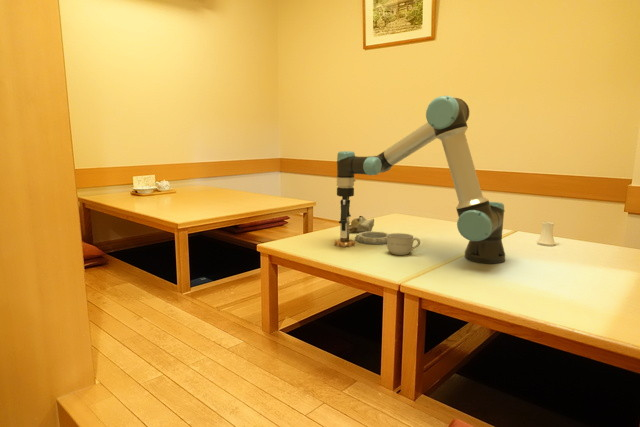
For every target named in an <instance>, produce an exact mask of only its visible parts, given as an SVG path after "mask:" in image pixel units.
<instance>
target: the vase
mask: <svg viewBox="0 0 640 427" xmlns="http://www.w3.org/2000/svg"><path fill="white" fill-rule="evenodd" d="M554 226H555V223H554V222H553V221H541V233H540V236H539V238H538V239H537V241H536V244H537V245H539V246H543V247H555V246H556V241H555V239H554Z"/></svg>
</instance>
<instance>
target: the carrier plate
mask: <svg viewBox="0 0 640 427" xmlns="http://www.w3.org/2000/svg"><path fill="white" fill-rule="evenodd" d="M387 234H389V233H388V232H384V231H377V230H375V231H373V230H372V231H370V232H366V231H363V232H358V234H356V235H355V237H354V241H355V242H356V243H360V244H363V245H371V246H373V245H375V246H376V245H378V246H380V245H387Z"/></svg>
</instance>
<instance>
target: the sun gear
mask: <svg viewBox="0 0 640 427" xmlns="http://www.w3.org/2000/svg"><path fill="white" fill-rule="evenodd" d="M350 222H351V221H350V220H349V221H347V238H339V239H338V240H337V239H335V240H334V246H336V247H338V248H339V247H342V248H351V247H355V246H356V241H355V240H353V239H350V232H349V225H351V223H350ZM339 224H340V225H339V226H340V227H339V228H340V229H339V230H341V223H339Z"/></svg>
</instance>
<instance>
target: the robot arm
mask: <svg viewBox="0 0 640 427" xmlns="http://www.w3.org/2000/svg"><path fill="white" fill-rule="evenodd" d="M469 117H470V108H469V105H468V104H467V103H466V102H465V101H464V100H463V99H462V98H459V97H453V96H452V95H441V96H438V97H435V98H434V99H433V100H431V102H430V103H429V104H428V106H426V110H425V118H426V119H425V120H427V122H425V123H424V124H422V125H421V126H420V127H418V128H416V129H415V130H414V131H412V132H411V133H409V134H408V135H406V136H405V137H402V139H399V140H398V141H397V142H395V143H394V144H393V145H391V146H389V147H388V148H387V149H385V150H384V151H382V152H381V153H379V154H377V155H371V156H369V155H368V156H358V155H357V156H356V154H355V151H351V150H348V151H347V150H344V151H343V150H342V151H338V153H337V154H336V155H337V156H336V157H337V158H336V167H337V168H336V169H337V171H336V174H337V175H336V195H337V196H338V197H341V199H340V219H339V221H338V223H339V224H340V223H341V230H340V229H339V230H340V231H339V232H340V236H339V237H340V238H347V221H349V222H350V217H352V216H351V214H350V207H351V206H350V203H351V199H350V197H354V196H355V188H354V186H355V182H356V179H355V175H365V176H367V175H368V176H378V175H379V173H386V172H388V171H390V170H391V168H392V167H394V166H395V165H397V164H398V163H399V162H401V161H403V160H404V159H405V158H407V157H409V156H411V155H412V154H414V153H415V152H417V151H419V150H421V149H422V148H424V147H426V146H427V145H428V144H430V143H432V142H433V141H435V140H437V139H438V140H439V141H440V142H441V144H442V147H443V151H444V155H445V158H446V159H445V160H446V162H447V165H448V169H449V172H450V175H451V179H452V183H453V186H454V190H455V192H456V193H455V194H456V196H457V200H458V201H457V202H458V204H457V206H456V207H455V209H456V213H457V216H458V219H457V223H456V227H457V230H458V233H459V234H460V235H461V237H463V238H464V239H465V240H468V243H467V246H466V248H465V250H464V258H465V259H466V260H469V261H471V262H475V263H482V264H500V263H504V262H505V261H506V252H505V248H504V245H503V241H502V240H503V226H504V217H505V212H506V211H505V204H504V203H503V202H499V201H490V200H489V199H488V198H486V197H484V195H483V192H482V188H481V186H480V182H479V178H478V174H477V172H476V167H475V164H474V160H473V157H472V154H471V150H470V147H469V143H468V141H467V136H466V132H467V131H468V123H467V121H468V120H469ZM340 238H339V239H340Z"/></svg>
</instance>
